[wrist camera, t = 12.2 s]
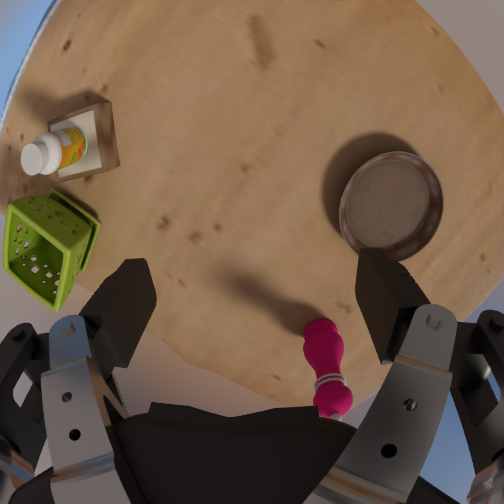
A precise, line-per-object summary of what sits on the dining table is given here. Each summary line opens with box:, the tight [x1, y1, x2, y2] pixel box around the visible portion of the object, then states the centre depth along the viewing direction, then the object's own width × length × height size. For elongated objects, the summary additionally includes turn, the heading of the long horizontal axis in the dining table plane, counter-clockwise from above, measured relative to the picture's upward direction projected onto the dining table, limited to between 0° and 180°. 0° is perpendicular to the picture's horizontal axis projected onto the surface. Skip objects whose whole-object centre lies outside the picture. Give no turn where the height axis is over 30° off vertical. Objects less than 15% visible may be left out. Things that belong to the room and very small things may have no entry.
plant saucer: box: [339, 151, 444, 262], centre depth 38 cm, size 18×18×3 cm
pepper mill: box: [303, 319, 353, 421], centre depth 42 cm, size 7×7×20 cm
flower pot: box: [3, 188, 101, 312], centre depth 38 cm, size 14×14×13 cm
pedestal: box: [47, 103, 120, 183], centre depth 34 cm, size 10×10×4 cm
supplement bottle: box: [21, 127, 88, 175], centre depth 28 cm, size 5×5×10 cm
